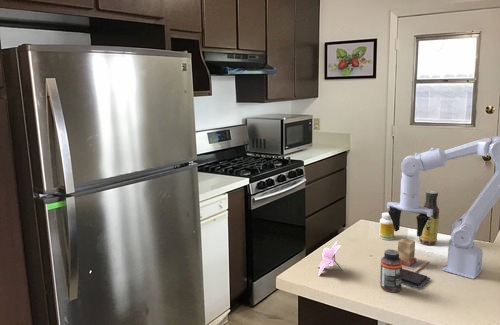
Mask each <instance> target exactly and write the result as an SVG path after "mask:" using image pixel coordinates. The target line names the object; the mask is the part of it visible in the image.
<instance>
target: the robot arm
mask: <svg viewBox="0 0 500 325" xmlns="http://www.w3.org/2000/svg"><path fill="white" fill-rule="evenodd" d="M488 154H489V156H490V157H491V159H492V160H493V163H494V165H495V168H496V169H495V170H496V171H495V172H494V174H493V175H492V176H491V178H490V179H489V181H488V182H487V183H486V185H485V186H484V188H482V190H481V191H480V193H479V194H478V195H477V197H476V198H475V200H474V201H473V203H471V205H470V206H469V208H468V210H467V211H466V212H465V213H464V214H462V215H461V216H460V218H459V219H457V220H455V221H454V222H453V223H452V224H451V226H450V230H451V235H450V239H449V240H448V250H447V251H448V252H447V265H445V266H444V267H442V269H441V270H442V271H443V272H447V273H450V274H454V275H458V276H461V277H464V278H465V277H466V278H469V279H472V280H474V279H476V278H477V276H479V275H480V274H481V273H482V272H483V269H482V268H483V267H482V266H483V257H484V256H483V254H484V253H483V249H482V248H481V247H478V246H476V245H475V242H474V240H475V235H476V233H477V232H478V230H479V228H480V225H481V223H482V222H483V220H484V219H485V217H486V216H487V215H488V214H489V212H490V211H491V209H492V208H494V206H495V204H496V203H497V202H498V200H499V199H500V135H494V136H492V137H484V138H480V139H477V140H474V141H471V142H467V143H465V144H462V145H458V146H455V147H452V148H449V149H445V150H444V149H441V148H439V147H438V148H436V147H431V148H430V149H429V150H427V151H424V152H420V153H418V152H415V153H414V155H408V156H406V157H405V158H403V160H402V162H401V164H400V169H401V178H400V195H399V196H400V197H399V199H400V200H399V202H394V201H388V202H386V209H389V210H388V211H387V212H388V213H389V215H390V217H391V219H392V222H393V225H394V232H398V231H400V227H401V226H400V225H401V214H402V211H403V212H408V213H412V214H418V215H417V216H416V222H417V223H416V225H417V227H416V228H417V230H416V236H417V237H418V238H419V237H420V236H421V235H422V232H423V229H424V226H425V224H426V222H427V220H428V219H429V217H430V216H432V215H433V210H432V209H428V208H425V207H424V206H422V205H420V189H421V188H420V184H421V179H420V172H426V171H430V170H434V169H438V168H441V167H444V166H445V165H446V164H447V162H448V161H451V160H456V159H458V158H460V159H461V158H462V157H463V158H464V157H467V156H472V155H479V156H481V157H488V156H487V155H488Z"/></svg>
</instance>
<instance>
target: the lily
mask: <svg viewBox="0 0 500 325" xmlns="http://www.w3.org/2000/svg"><path fill="white" fill-rule="evenodd" d="M337 243H338V240H337V241H335V242H334V243H333V245H332V246H331V248H329V247H324V248H323V251H322V255H321V256H322V260H321V261H320V263H319V264H318V266H317V268H319V270H318V274H317V275H318V277H320V275H321V274H322V272H323V271H324V269H325V268H326V267H327V266H329V267H333V266H334V263H335V264H336V265H337V266H338V267H339V269H340V271H344V270H343V269H342V267H341V265H340V264H339V263H338V262H337V261H336V252H337V251H338V249H339V248H340V247H341V246H342V245H341V244H338V245H337Z"/></svg>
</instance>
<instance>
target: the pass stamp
mask: <svg viewBox="0 0 500 325" xmlns="http://www.w3.org/2000/svg"><path fill="white" fill-rule="evenodd" d="M397 251H398V252H399V258H400V259H401V260H402V265H404V266H408V267H411V266H412V265H413V264H415V263H416V258H417V257H415V253H416V252H415V251H416V241H415V240H412V239H409V238H404V237H403V238H401V239H400V240H398V241H397Z"/></svg>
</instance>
